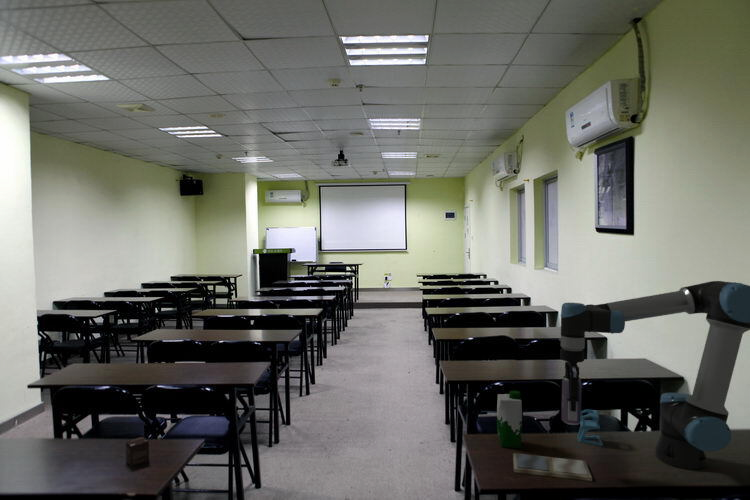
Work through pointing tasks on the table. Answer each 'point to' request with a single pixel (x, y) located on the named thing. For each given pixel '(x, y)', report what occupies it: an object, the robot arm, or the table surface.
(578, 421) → the beverage can
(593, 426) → the chair
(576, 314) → the robot arm
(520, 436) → the milk carton
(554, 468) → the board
